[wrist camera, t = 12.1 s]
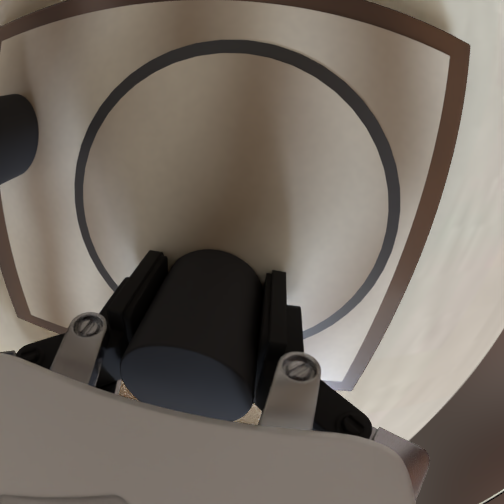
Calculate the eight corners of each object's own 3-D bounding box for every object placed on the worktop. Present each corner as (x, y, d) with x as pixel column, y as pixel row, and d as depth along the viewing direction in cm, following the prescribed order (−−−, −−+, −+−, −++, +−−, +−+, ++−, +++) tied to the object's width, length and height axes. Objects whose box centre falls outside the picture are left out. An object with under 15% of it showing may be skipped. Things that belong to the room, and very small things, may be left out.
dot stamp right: (168, 318, 13) (129, 408, 9) (167, 240, 11) (108, 328, 7) (255, 335, 13) (243, 433, 9) (271, 258, 11) (265, 362, 7)
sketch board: (28, 304, 17) (15, 318, 15) (4, 33, 8) (-17, 33, 7) (348, 372, 17) (352, 393, 15) (452, 48, 8) (473, 44, 6)
